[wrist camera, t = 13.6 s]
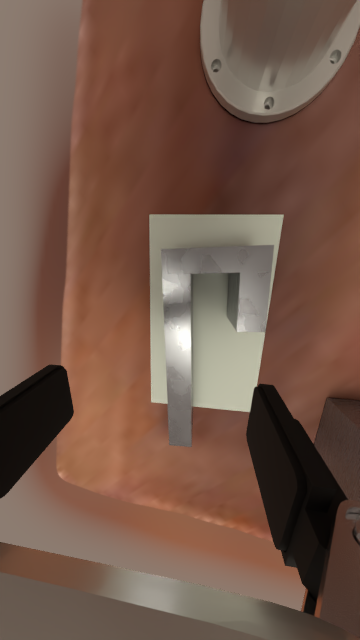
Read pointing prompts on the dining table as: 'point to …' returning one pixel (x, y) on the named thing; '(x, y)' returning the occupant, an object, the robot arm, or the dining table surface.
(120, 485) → the dining table surface
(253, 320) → the crook
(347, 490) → the grey metal pieces
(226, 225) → the mat
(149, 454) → the dining table surface
